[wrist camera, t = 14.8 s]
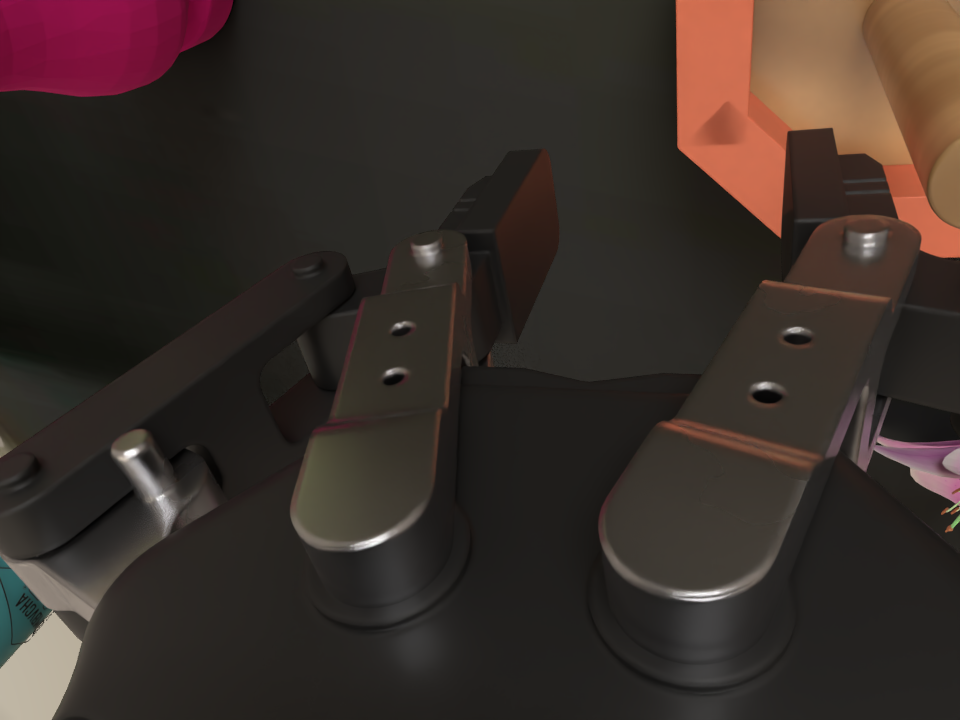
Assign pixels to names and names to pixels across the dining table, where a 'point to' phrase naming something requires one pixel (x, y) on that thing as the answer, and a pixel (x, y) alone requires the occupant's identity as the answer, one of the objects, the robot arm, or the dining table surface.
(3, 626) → the beverage bottle
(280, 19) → the dining table surface
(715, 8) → the ring
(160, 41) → the pepper mill
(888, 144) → the peg stand
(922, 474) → the lily
